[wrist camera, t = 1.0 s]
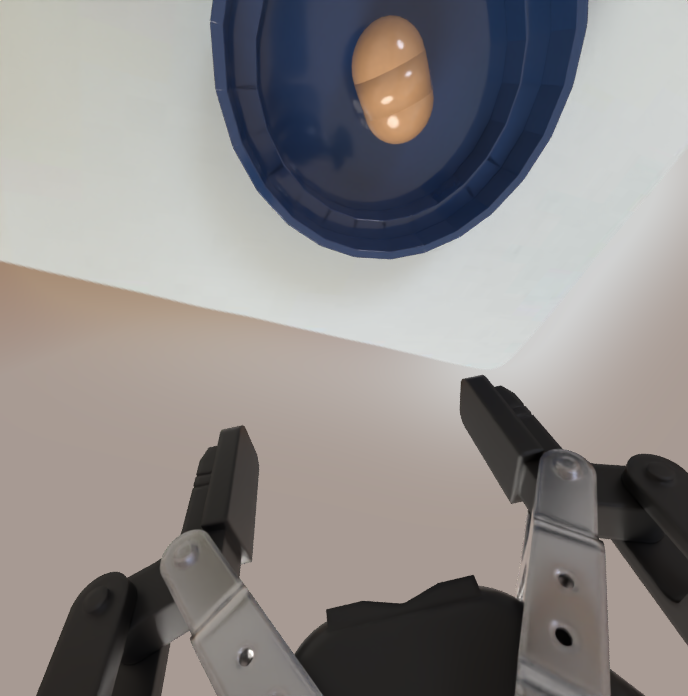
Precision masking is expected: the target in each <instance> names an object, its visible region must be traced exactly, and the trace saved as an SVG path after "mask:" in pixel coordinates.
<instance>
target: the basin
mask: <svg viewBox="0 0 688 696" xmlns="http://www.w3.org/2000/svg"><path fill="white" fill-rule="evenodd" d="M387 15H397V16H401V17H403V18H406V19H407V20H409V21H410V22H411V23H413V24H414V26H415V27H416V28H417V29H418V31H419V33H420V35H421V36H422V38H423V42H424V45H425V48H426V53H427V59H428V64H429V69H430V74H431V79H432V84H433V91H434V106H433V110H432V114H431V117H430V119H429V121H428V123H427V125H426V126H425V128H424V129H423V131H422V132H421V133H420V134H419V135H418V136H417V137H415V138H414V139H412V140H411V141H409V142H406V143H403V144H398V145H396V144H388V143H385V142H382V141H381V140H379V139H378V138H376V137H375V136H374V135H373V134H372V132H371V131H370V129H369V128H368V126H367V123H366V121H365V118H364V115H363V112H362V109H361V106H360V102H359V99H358V96H357V93H356V90H355V87H354V83H353V79H352V72H351V62H352V55H353V50H354V47H355V44H356V42H357V40H358V38H359V36H360V35H361V33H362V31H363V30H364V29H365V28H366V27H367V26H368V25H369V24H370V23H371V22H373V21H374V20H376V19H378V18H380V17H382V16H387ZM587 19H588V0H213V3H212V10H211V18H210V21H211V22H210V28H211V40H212V53H213V65H214V77H215V89H216V93H217V96H218V100H219V103H220V106H221V110H222V113H223V116H224V120H225V123H226V126H227V130H228V133H229V137H230V140H231V143H232V146H233V149H234V150H235V152H236V154H237V156H238V158H239V159H240V161H241V163H242V165H243V166H244V168H245V170H246V172H247V174H248V175H249V177H250V179H251V181H252V183H253V184H254V186H255V188H256V190H257V191H258V193H259V194H260V195H261V196H262V197H263V198H264V199H265V200H266V201H267V203H268V204H269V205H270V206H271V207H272V208H273V209H274V210H275V211H276V212H277V213H278V214H279V216H280V217H281V218H282V219H283V220H284V221H285V222H286V223H287V224H288V225H289V226H291V227H292V228H294V229H295V230H297V231H298V232H300V233H302V234H303V235H305V236H306V237H308V238H309V239H311V240H312V241H314V242H315V243H317V244H318V245H321V246H323V247H326V248H329V249H332V250H335V251H338V252H341V253H344V254H347V255H350V256H353V257H361V258H377V259H395V258H400V257H405V256H410V255H416V254H421V253H425V252H427V251H430V250H432V249H434V248H436V247H439V246H441V245H443V244H445V243H448V242H450V241H452V240H454V239H457V238H459V237H461V236H462V235H463V234H465V233H466V232H468V231H469V230H470V229H472V228H473V227H474V226H476V225H477V224H479V223H480V222H481V221H483V220H484V219H486V218H487V217H488V216H490V215H491V214H492V213H493V212H494V211H495V210H496V209H497V208H498V207H499V206H500V205H501V204H502V203H503V202H504V200H505V199H506V198H507V197H508V196H509V195H510V194H511V193H512V192H513V191H514V190H515V189H516V188H517V187H518V185H519V184H520V183H521V182H522V181H523V180H524V179H525V177H526V176H527V174H528V172H529V171H530V169H531V168H532V166H533V165H534V163H535V162H536V160H537V159H538V157H539V155H540V154H541V152H542V151H543V149H544V148H545V146H546V145H547V143H548V142H549V140H550V138H551V137H552V134H553V132H554V130H555V127H556V125H557V122H558V120H559V118H560V115H561V113H562V111H563V108H564V106H565V104H566V101H567V99H568V97H569V94H570V92H571V90H572V87H573V84H574V80H575V75H576V71H577V67H578V62H579V58H580V54H581V49H582V45H583V41H584V37H585V32H586V28H587Z"/></svg>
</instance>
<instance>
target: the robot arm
mask: <svg viewBox="0 0 688 696" xmlns="http://www.w3.org/2000/svg"><path fill="white" fill-rule="evenodd" d="M460 415H461V419H462V422H463V424H464V426H465V428H466V430H467V431H468V433H469V435H470V436H471V438H472V439H473V441H474V443H475V445H476V446H477V448H478V450H479V451H480V453H481V455H482V456H483V458H484V459H485V461H486V463H487V465H488V466H489V468H490V469H491V471H492V473H493V474H494V476H495V478H496V479H497V481H498V483H499V484H500V486H501V488H502V489H503V491H504V493H505V494H506V496H507V498H508V499H509V501H510V503H511V504H512V503H517V502H522V501H523V502H524V504H525V505H526V507H527V509H528V512H527V518H526V525H525V533H524V540H523V547H522V555H521V562H520V569H519V574H518V580H517V586H516V591H515V597H513V596H511V595H509V594H507V593H505V592H502V591H499V590H496V589H493V588H489V587H484V586H478V584H477V582H476V579H475V577H474V575H471V576H467V577H463V578H459V579H454V580H450V581H446V582H441V583H437V584H436V585H434V586H432V587H431V588H429V589H427V590H426V591H424V592H422V593H421V594H419V595H418V596H416V597H414V598H412V599H411V600H409V601H407V602H405V603H401V604H399V603H385V602H384V603H383V602H371V601H360V602H356V603H352V604H348V605H343V606H339V607H335V608H331V609H327V610H326V613H327V622H325V623H324V624H322V625H321V626H319V627H318V628H317V629H316V630H314V631H313V632H312V633H311V634H310V635H309V636H308V637H307V638H306V639H305V640H304V642H303V643H302V644H301V645H300V647H299V648H298V650H297V651H296V653H295V654H293V652H292V651H291V649H290V648H289V647H288V645H287V644H286V642H285V641H284V640H283V638H282V637H281V635H280V634H279V633H278V631H277V630H276V628H275V627H274V625H273V624H272V623H271V621H270V620H269V619H268V617H267V616H266V614H265V613H264V611H263V610H262V609H261V607H260V606H259V604H258V603H257V601H256V600H255V599H254V597H253V596H252V594H251V593H250V592H249V590H248V589H247V587H246V586H245V585H244V584H243V582H242V581H241V579H240V578H239V576H240V566H241V564H245V563H249V562H252V553H253V540H254V528H255V515H256V502H257V489H258V476H259V464H258V463H259V462H258V457H257V454H256V451H255V449H254V446H253V444H252V442H251V440H250V437H249V435H248V433H247V431H246V429H245V427H244V426H237V427H232V428H228V429H223V430H221V432H220V437H219V441H218V446H214V447H210V448H208V450H207V451H206V453H205V454H204V456H203V457H202V459H201V460H200V462H199V466H198V470H197V474H196V475H197V477H196V478H195V482H194V488H193V490H192V494H191V498H190V501H189V506H188V509H187V513H186V517H185V521H184V525H183V529H182V532H181V535H180V536H179V537H177V538H176V539H175V540H174V541H172V543H171V544H170V545H169V546H168V547H167V549H166V550H165V552H164V554H163V556H162V558H161V559H160V560H158V561H157V562H155V563H154V564H152V565H150V566H148V567H146V568H144V569H143V570H141V571H139V572H137V573H135V574H134V575H132V576H130V577H128V578H127V577H126V576H125V575H124V574H122V573H120V572H110V573H107V574H104V575H102V576H100V577H98V578H97V579H95V580H94V581H92V582H91V583H90V584H89V585H88V586H87V587H86V588H85V589H84V590H83V591H82V592H81V593H80V594H79V596H78V597H77V599H76V600H75V602H74V603H73V605H72V607H71V609H70V612H69V614H68V617H67V620H66V622H65V625H64V627H63V630H62V632H61V635H60V637H59V640H58V642H57V645H56V647H55V650H54V652H53V655H52V657H51V660H50V662H49V665H48V667H47V670H46V673H45V675H44V677H43V680H42V682H41V685H40V687H39V690H38V692H37V695H36V696H161V693H162V687H163V682H164V676H165V670H166V664H167V659H168V653H169V648H170V642H172V641H173V640H175V639H177V638H178V637H180V636H182V635H183V634H185V633H186V632H188V631H190V632H191V635H192V636H191V638H190V640H191V643H192V646H193V648H194V650H195V652H196V654H197V656H198V658H199V660H200V662H201V664H202V666H203V668H204V670H205V672H206V674H207V676H208V678H209V680H210V682H211V684H212V686H213V688H214V690H215V692H216V694H217V696H645V695H643V694H642V693H641V692H639V691H638V690H637V689H636V688H634V687H633V686H632V685H630V684H629V683H628V682H626V681H625V680H624V679H623V678H621V677H620V676H619V675H617V674H616V673H615V672H613V671H612V670H611V669H610V665H609V664H610V662H609V636H608V610H607V585H606V558H605V547H604V543H603V541H601V540H599V538H605V539H611V540H612V541H613V543H614V544H615V546H616V547H617V548H618V550H619V551H620V553H621V554H622V555H623V557H624V558H625V559H626V561H627V562H628V564H629V565H630V566H631V568H632V569H633V570H634V572H635V573H636V575H637V576H638V577H639V579H640V580H641V582H642V583H643V584H644V586H645V587H646V588H647V590H648V591H649V592H650V594H651V595H652V597H653V598H654V599H655V601H656V602H657V604H658V605H659V606H660V608H661V609H662V611H663V612H664V613H665V615H666V616H667V617H668V619H669V620H670V622H671V623H672V624H673V626H674V627H675V628H676V630H677V631H678V633H679V634H680V635H681V637H682V638H683V640H684V641H685V642H686V644H687V645H688V473H687V472H686V471H685V470H684V469H683V468H682V467H680V466H679V465H677V464H676V463H674V462H672V461H670V460H668V459H666V458H663V457H660V456H657V455H652V454H638V455H635V456H633V457H631V458H630V459H629V461H628V462H627V464H626V466H619V465H603V464H593V463H590V462H588V461H587V460H586V459H585V458H584V457H582V456H581V455H579V454H577V453H574V452H572V451H569V450H564V449H562V448H561V447H560V446H559V444H558V443H557V442H556V441H555V440H554V439H553V437H552V436H551V435H550V434H549V433H548V432H547V430H546V429H545V428H544V427H543V426H542V425H541V423H540V422H539V421H538V420H537V419H536V418H535V417H534V415H532V414H531V412H530V411H529V410H528V408H527V407H526V406H524V404H523V403H522V402H521V400H520V399H519V398H518V397H517V396H516V395H515V393H513V392H511V391H509V390H508V389H506V388H504V387H502V386H497V387H494V386H493V385H492V384H491V383H490V381H489V380H488V379H487V378H486V377H485V376H484V375H480V376H475V377H470V378H465V379H462V381H461V393H460Z"/></svg>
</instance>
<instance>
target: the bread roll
mask: <svg viewBox="0 0 688 696" xmlns="http://www.w3.org/2000/svg"><path fill="white" fill-rule="evenodd" d="M351 72H352V79H353V83H354V87H355V90H356V93H357V96H358V99H359V102H360V106H361V109H362V112H363V115H364V118H365V121H366V123H367V126H368V128H369V129H370V131H371V132H372V134H373V135H374V136H375V137H376V138H378V139H379V140H381V141H382V142H385V143H388V144H396V145H398V144H403V143H406V142H409V141H411V140H412V139H414V138H415V137H417V136H418V135H419V134H420V133H421V132H422V131H423V129H424V128H425V126H426V125H427V123H428V121H429V119H430V117H431V114H432V110H433V106H434V91H433V84H432V79H431V74H430V69H429V64H428V59H427V53H426V48H425V45H424V42H423V38H422V36H421V35H420V33H419V31H418V29H417V28H416V27H415V26H414V24H413V23H411V22H410V21H409V20H407V19H406V18H403V17H401V16H397V15H387V16H382V17H380V18H378V19H376V20H374V21H373V22H371V23H370V24H369V25H368V26H367V27H366V28H365V29H364V30H363V31H362V33H361V35H360V36H359V38H358V40H357V42H356V44H355V47H354V50H353V55H352V62H351Z"/></svg>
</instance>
